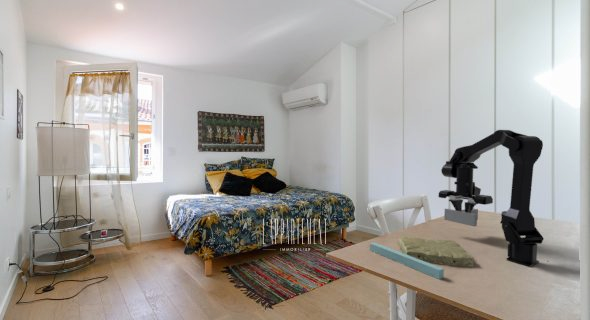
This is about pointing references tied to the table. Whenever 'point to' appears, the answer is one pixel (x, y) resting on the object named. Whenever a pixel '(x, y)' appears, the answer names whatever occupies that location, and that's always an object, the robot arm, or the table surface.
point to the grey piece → (462, 216)
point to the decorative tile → (435, 251)
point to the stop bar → (408, 260)
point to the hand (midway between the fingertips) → (463, 218)
